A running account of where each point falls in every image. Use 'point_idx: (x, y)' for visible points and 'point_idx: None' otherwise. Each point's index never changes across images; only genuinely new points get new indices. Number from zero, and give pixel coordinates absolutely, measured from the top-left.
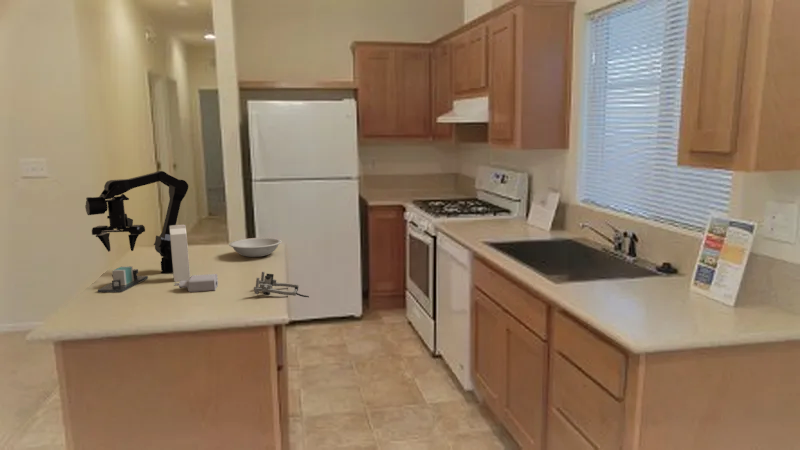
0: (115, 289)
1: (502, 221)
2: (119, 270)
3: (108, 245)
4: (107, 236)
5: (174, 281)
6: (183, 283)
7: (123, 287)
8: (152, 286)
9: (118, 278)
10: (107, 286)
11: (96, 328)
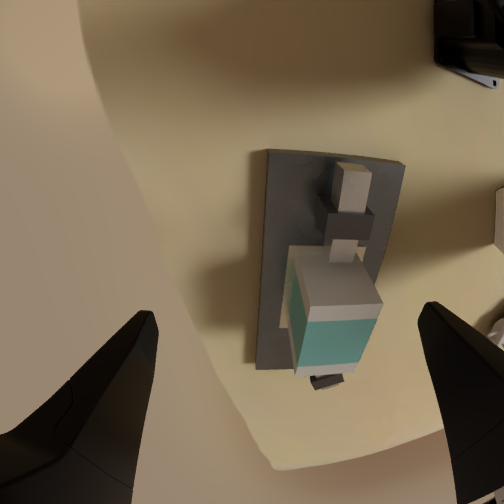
0: None
1: None
2: (332, 372)
3: (136, 389)
4: (76, 492)
5: (494, 244)
6: (501, 344)
7: None
8: (431, 298)
9: None
10: (272, 340)
11: (349, 457)
